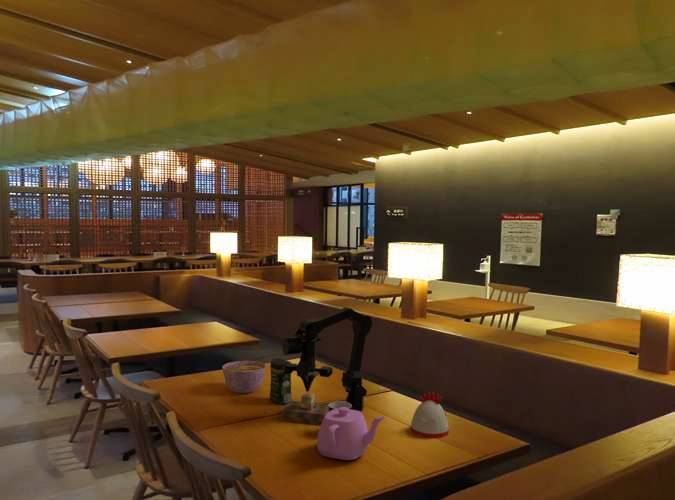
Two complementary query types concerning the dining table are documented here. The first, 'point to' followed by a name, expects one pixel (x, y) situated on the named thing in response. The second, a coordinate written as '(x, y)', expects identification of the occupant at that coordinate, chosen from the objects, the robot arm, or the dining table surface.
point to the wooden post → (307, 401)
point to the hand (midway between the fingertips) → (307, 391)
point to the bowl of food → (244, 375)
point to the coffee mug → (339, 405)
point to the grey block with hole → (304, 413)
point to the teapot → (345, 434)
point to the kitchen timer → (430, 418)
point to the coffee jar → (280, 382)
